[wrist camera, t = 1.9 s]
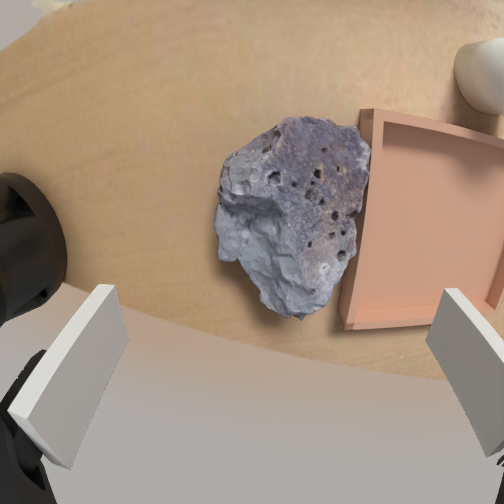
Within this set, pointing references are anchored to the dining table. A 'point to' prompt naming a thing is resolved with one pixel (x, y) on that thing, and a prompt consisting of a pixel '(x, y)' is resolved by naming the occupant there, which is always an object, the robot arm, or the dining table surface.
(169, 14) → the dining table surface
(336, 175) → the rock
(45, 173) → the dining table surface
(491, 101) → the white rounded cylinder
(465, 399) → the robot arm
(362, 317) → the dish
